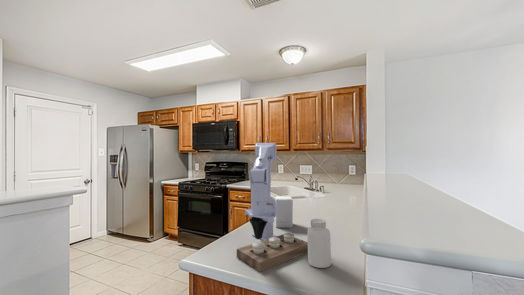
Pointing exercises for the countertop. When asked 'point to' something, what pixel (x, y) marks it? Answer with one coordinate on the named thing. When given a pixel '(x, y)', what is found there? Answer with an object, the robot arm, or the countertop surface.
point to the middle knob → (274, 243)
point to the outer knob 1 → (258, 248)
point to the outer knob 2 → (288, 238)
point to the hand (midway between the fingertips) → (258, 238)
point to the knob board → (272, 253)
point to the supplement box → (284, 212)
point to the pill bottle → (319, 244)
